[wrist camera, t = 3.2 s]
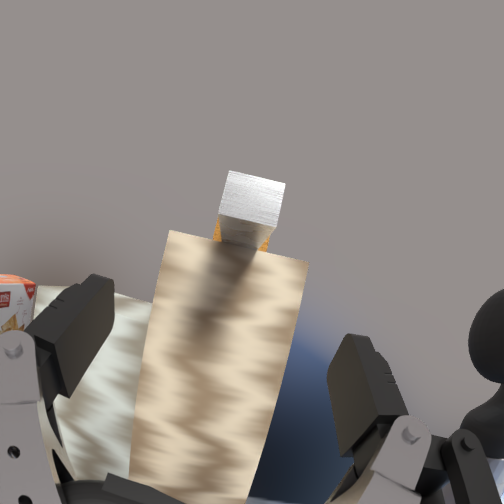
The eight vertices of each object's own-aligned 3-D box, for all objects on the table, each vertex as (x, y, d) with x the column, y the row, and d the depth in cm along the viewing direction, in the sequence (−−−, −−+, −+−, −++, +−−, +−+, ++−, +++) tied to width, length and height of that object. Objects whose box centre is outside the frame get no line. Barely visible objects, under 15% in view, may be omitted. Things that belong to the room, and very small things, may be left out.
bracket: (257, 262, 35) (264, 229, 36) (295, 232, 15) (308, 162, 16) (215, 252, 35) (223, 219, 35) (198, 209, 15) (218, 140, 15)
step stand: (230, 476, 35) (280, 270, 39) (232, 538, 21) (309, 262, 25) (79, 433, 34) (108, 229, 38) (36, 475, 20) (57, 204, 24)
